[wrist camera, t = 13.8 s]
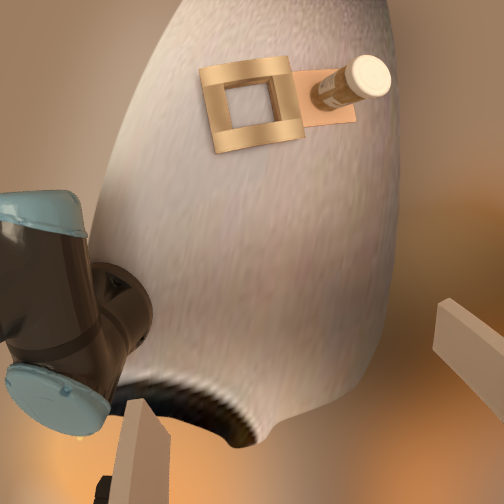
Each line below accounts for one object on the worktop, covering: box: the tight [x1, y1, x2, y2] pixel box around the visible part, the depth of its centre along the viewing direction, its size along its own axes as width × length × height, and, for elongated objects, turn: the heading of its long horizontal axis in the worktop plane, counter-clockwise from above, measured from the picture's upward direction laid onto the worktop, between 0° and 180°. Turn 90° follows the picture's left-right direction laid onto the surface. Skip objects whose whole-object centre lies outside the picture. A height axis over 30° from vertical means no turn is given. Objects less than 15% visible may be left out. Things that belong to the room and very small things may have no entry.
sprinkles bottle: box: [311, 55, 391, 112], centre depth 29 cm, size 5×5×13 cm
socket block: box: [199, 56, 305, 154], centre depth 34 cm, size 11×11×4 cm
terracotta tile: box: [292, 69, 356, 127], centre depth 36 cm, size 8×8×1 cm
